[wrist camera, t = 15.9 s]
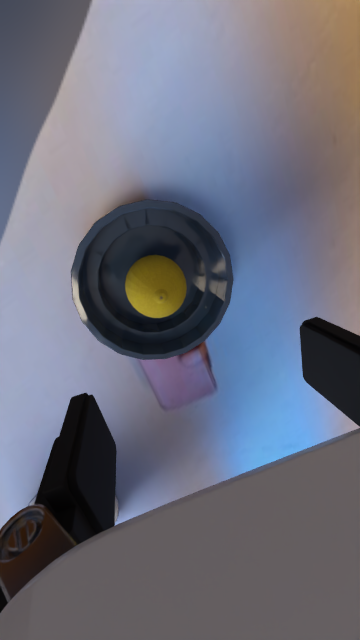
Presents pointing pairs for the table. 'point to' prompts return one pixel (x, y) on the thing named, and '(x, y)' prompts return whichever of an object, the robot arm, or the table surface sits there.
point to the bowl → (128, 247)
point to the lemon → (155, 286)
